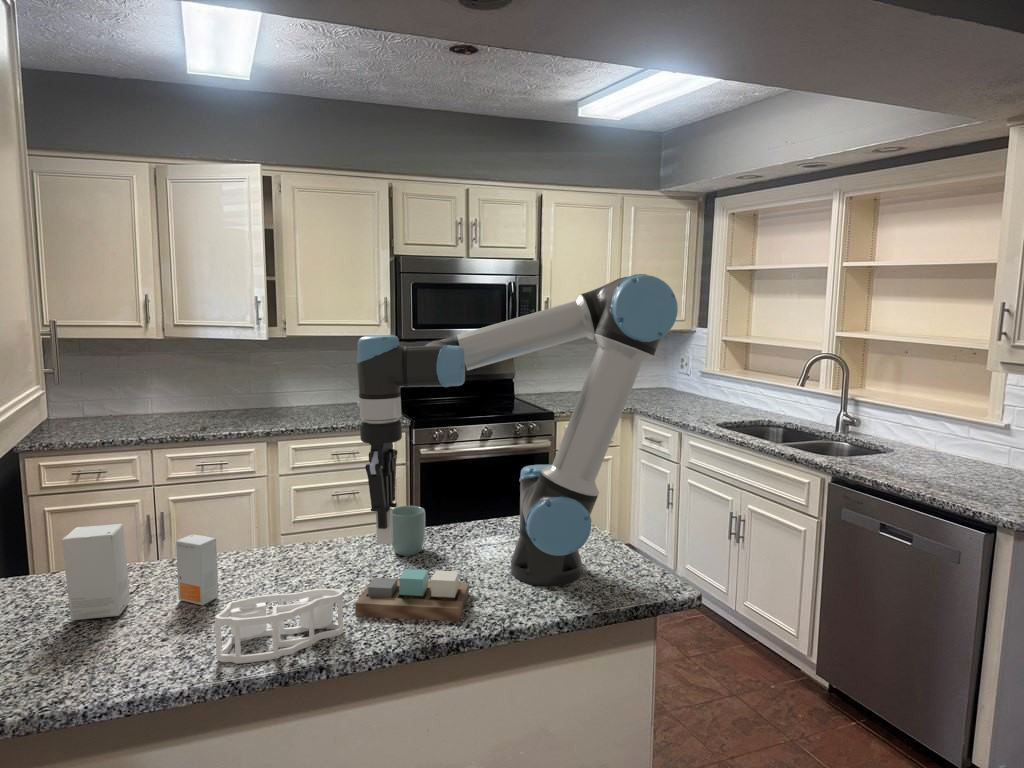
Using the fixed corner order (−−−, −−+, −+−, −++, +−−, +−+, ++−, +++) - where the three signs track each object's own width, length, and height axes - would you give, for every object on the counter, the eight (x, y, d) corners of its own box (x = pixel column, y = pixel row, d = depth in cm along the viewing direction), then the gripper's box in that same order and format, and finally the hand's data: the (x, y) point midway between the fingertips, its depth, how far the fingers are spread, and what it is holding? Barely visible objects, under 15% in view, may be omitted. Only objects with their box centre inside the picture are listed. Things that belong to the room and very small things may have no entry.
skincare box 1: (131, 602, 127) (126, 522, 125) (118, 618, 121) (113, 534, 119) (82, 605, 125) (76, 525, 123) (66, 622, 119) (60, 537, 117)
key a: (458, 587, 128) (458, 571, 128) (454, 597, 124) (454, 581, 123) (436, 586, 128) (436, 570, 128) (431, 596, 124) (431, 579, 124)
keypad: (468, 595, 132) (468, 583, 131) (459, 621, 121) (459, 608, 120) (373, 590, 133) (373, 578, 133) (355, 616, 122) (355, 603, 122)
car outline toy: (341, 619, 122) (340, 580, 121) (345, 649, 111) (345, 607, 110) (222, 634, 115) (220, 593, 115) (214, 667, 105) (213, 623, 104)
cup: (418, 560, 149) (418, 517, 148) (385, 557, 150) (385, 514, 149) (429, 548, 156) (429, 506, 155) (398, 545, 158) (397, 504, 157)
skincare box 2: (177, 601, 128) (174, 540, 126) (195, 592, 132) (192, 533, 130) (202, 606, 126) (199, 545, 124) (219, 597, 130) (217, 537, 128)
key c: (397, 594, 129) (397, 578, 129) (391, 604, 125) (391, 588, 125) (375, 593, 130) (374, 577, 129) (368, 603, 125) (368, 587, 125)
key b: (427, 586, 129) (427, 570, 128) (422, 595, 124) (422, 579, 124) (405, 584, 129) (405, 568, 129) (399, 594, 125) (399, 578, 124)
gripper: (371, 413, 130) (375, 530, 133) (349, 426, 117) (354, 555, 120) (409, 413, 129) (412, 531, 132) (391, 426, 116) (395, 556, 119)
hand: (385, 542), depth 126 cm, fingers closed
